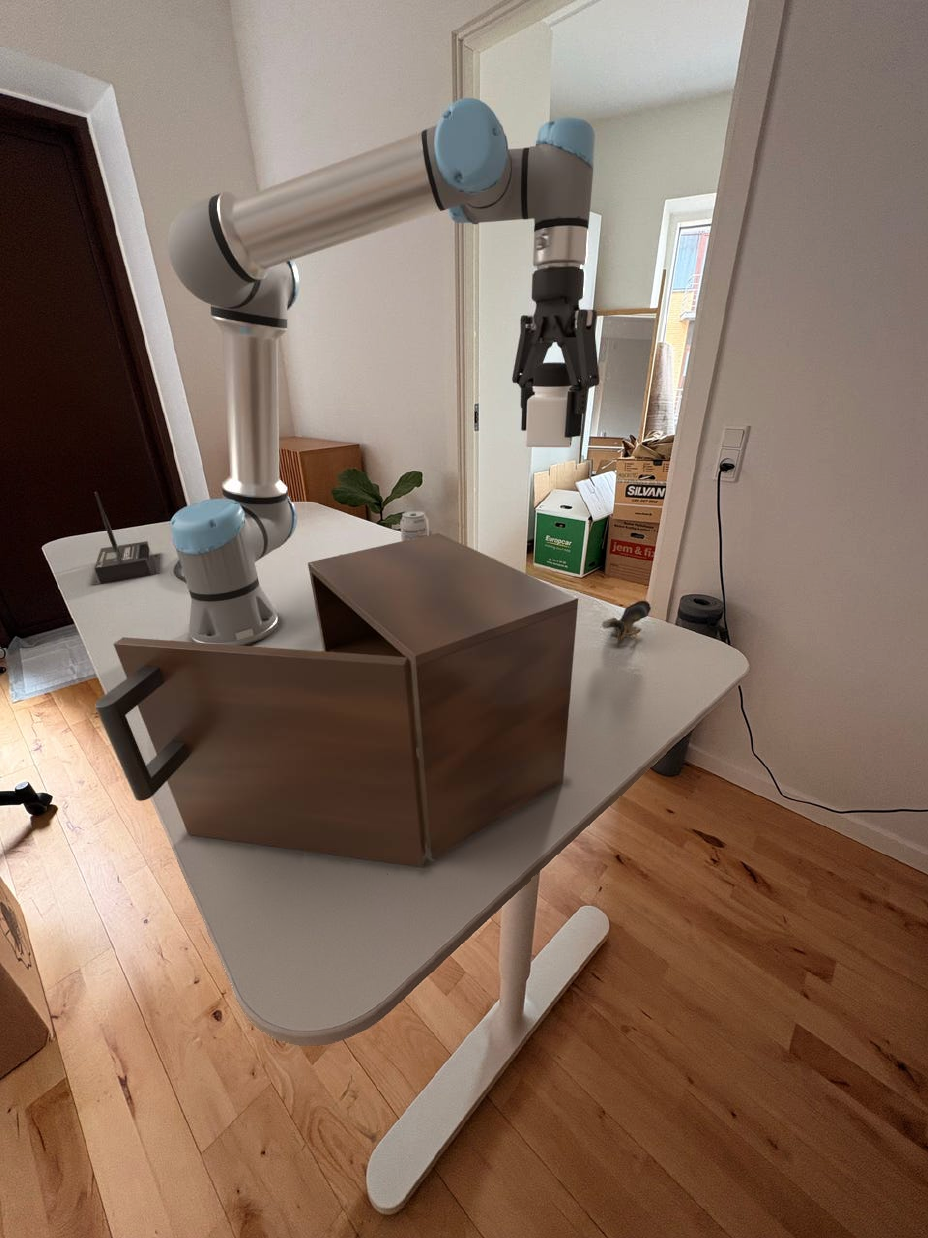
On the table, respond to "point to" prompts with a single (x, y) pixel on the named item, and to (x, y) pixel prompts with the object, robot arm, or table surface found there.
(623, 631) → the grey-brown animal figure
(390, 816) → the cupboard door
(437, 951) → the table surface
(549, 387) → the medicine bottle
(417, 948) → the table surface
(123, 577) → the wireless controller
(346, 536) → the table surface
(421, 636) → the cupboard
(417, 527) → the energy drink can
